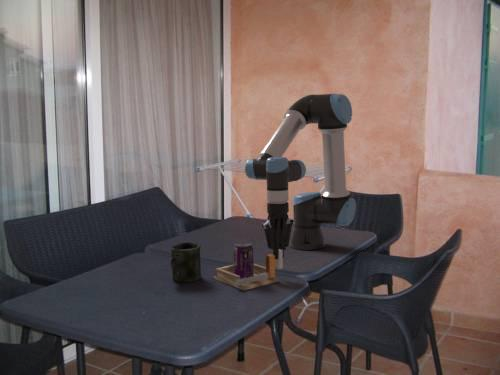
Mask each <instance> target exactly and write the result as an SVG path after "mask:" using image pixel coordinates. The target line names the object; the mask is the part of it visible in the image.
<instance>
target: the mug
mask: <svg viewBox="0 0 500 375" xmlns="http://www.w3.org/2000/svg"><path fill="white" fill-rule="evenodd" d="M201 248H202V245H201V244H200V243H198V242H191V241H190V242H179V243H174V244H171V245H170V248H169V249H170V250H171V260H170V268H171V272H172V280H174V281H175V282H178V283H191V282H195V281H198V280H200V278H201V277H202V270H201Z"/></svg>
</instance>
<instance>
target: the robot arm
mask: <svg viewBox="0 0 500 375" xmlns="http://www.w3.org/2000/svg"><path fill="white" fill-rule="evenodd" d="M352 108H353V107H352V102H351V101H350V99H349V98H348V97H347V96H346V94H342V93H341V94H340V93H325V94H323V93H322V94H309V95H305V96H302V97H301V98H299V99H298V100H297V101H295V102H294V103H293V104H291V106H289V108H288V109H287V110H286V112H285V113H284V115H283V120H282V121H281V123H280V125H278V127H277V129H276V130H275V132H274V133H273V134H272V136H271V138H270V139H269V140H268V141H267V144H266V145H265V146H264V148H263V149H262V150H261V152H260V153H259V155H258V156H257V158H250V159H247V161H246V163H245V165H244V172H245V175H246V177H247V178H248V179H251V180H259V181H266V201H267V203H266V212H267V218H266V222H262V223H261V226H262V229H263V230H264V234H265V239H266V244H267V248H268V249H269V250H271V251H272V255H275V269H279V270H281V269H283V268H284V263H283V260H284V258H285V251H286V250H287V248H288V247H290V248H291V249H296V250H301V251H314V250H315V251H316V250H321V249H323V248H326V240H325V237H324V233H323V231H322V225H331V226H337V227H340V226H341V227H344V226H349V225H350V224H351V223H352V222H353V220H354V218H355V215H356V209H357V203H356V199H355V198H353V197H351V192H350V191H349V190H348V189H347V181H346V180H347V178H346V159H345V157H346V156H345V138H344V137H345V136H344V132H345V131H346V129H347V128H348V124H349V123H350V122H351V121H352V119H353V118H352V117H353V109H352ZM310 124H317V127H318V128H317V129H318V130H319V132H321V136H322V138H321V139H322V156H323V174H324V190H323V192H322V193H321V192H320V191H309V192H304V193H303V192H302V193H298V194H296V195H294V197H293V203H292V208H293V209H292V210H293V219H291V218H290V217H289V214H288V213H289V211H290V210H289V209H290V208H289V207H290V205H289V204H290V203H289V202H288V201H289V199H290V197H289V183H292V182H298V181H299V180H302V179H303V178H304V177H305V175H306V173H307V167H306V165H305V163H304V162H303V161H302V160H300V159H291V160H288V158H287V157H285V156H284V155H285V153H286V152H287V150H288V148H289V146H290V145H291V144H292V142H293V141H294V139H295V138H296V136H297V135H298V133H299V132H300V131H301V130H303V129H304V128H305V127H306V126H308V125H310ZM292 227H293V231H292ZM291 232H292V233H291Z"/></svg>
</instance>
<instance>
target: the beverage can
mask: <svg viewBox="0 0 500 375" xmlns="http://www.w3.org/2000/svg"><path fill="white" fill-rule="evenodd" d="M233 246H234V247H233V248H232V249H233V250H232V253H233V254H232V257H233V258H232V260H233V263H232V265H234V274H236V275H239V276H240V279H241V278H245V277H250V276H254V264H255V262H254V247H253V243H252V242H248V241H247V242H246V241H243V242H242V241H241V242H235V243H234V245H233Z"/></svg>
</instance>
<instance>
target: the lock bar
mask: <svg viewBox="0 0 500 375" xmlns="http://www.w3.org/2000/svg"><path fill="white" fill-rule="evenodd" d="M265 267H266V273H262V274H258V275H254V276H250V277H245V278H241V279H237V280H235V286H241V285H245V284H249V283H253V282H257V281H261V280H265V279H271V278H276V268H275V255H273V253H270V254H266V255H265Z"/></svg>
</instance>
